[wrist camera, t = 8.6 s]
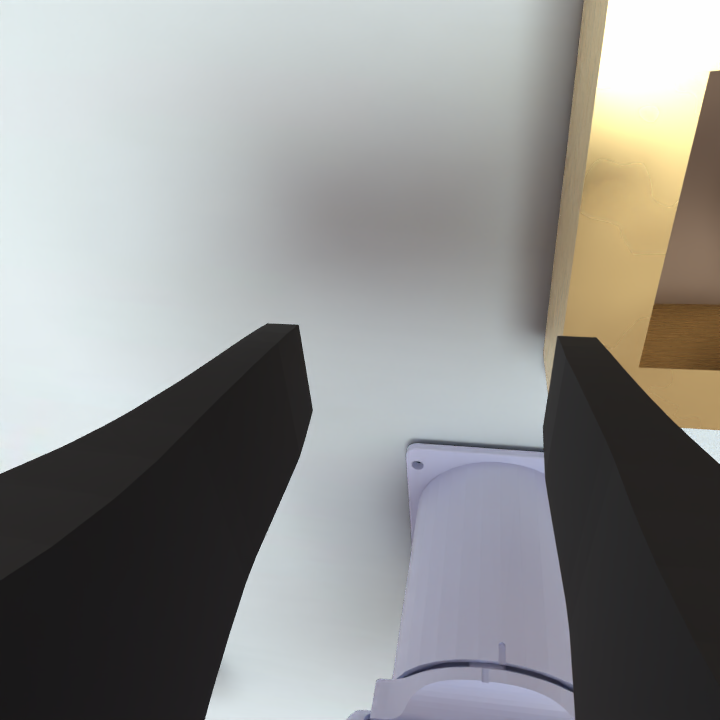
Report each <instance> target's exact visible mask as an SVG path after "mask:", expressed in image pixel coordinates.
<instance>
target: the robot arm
mask: <svg viewBox="0 0 720 720" xmlns="http://www.w3.org/2000/svg"><path fill="white" fill-rule="evenodd" d="M312 411H313V409H312V403H311V397H310V391H309V385H308V379H307V373H306V367H305V361H304V355H303V349H302V343H301V337H300V331H299V325H291V324H266V325H264V326H262V327H260V328H259V329H257V330H255V331H254V332H252V333H251V334H249V335H248V336H246V337H245V338H243V339H242V340H240V341H239V342H237V343H236V344H234V345H233V346H231V347H230V348H228V349H227V350H225V351H224V352H222V353H221V354H220V355H218V356H217V357H215V358H214V359H212V360H211V361H209V362H208V363H206V364H205V365H203V366H202V367H200V368H199V369H197V370H196V371H194V372H193V373H191V374H190V375H188V376H187V377H185V378H184V379H182V380H181V381H179V382H177V383H176V384H174V385H172V386H171V387H169V388H168V389H166V390H164V391H163V392H161V393H160V394H158V395H156V396H155V397H153V398H151V399H150V400H148V401H147V402H145V403H143V404H142V405H140V406H138V407H137V408H135V409H133V410H132V411H130V412H128V413H126V414H125V415H123V416H121V417H119V418H118V419H116V420H114V421H112V422H110V423H108V424H107V425H105V426H103V427H101V428H99V429H97V430H95V431H93V432H91V433H89V434H87V435H85V436H83V437H81V438H79V439H77V440H75V441H73V442H71V443H69V444H67V445H65V446H63V447H61V448H59V449H56V450H54V451H52V452H50V453H47V454H45V455H43V456H40V457H38V458H36V459H33V460H31V461H29V462H27V463H24V464H22V465H20V466H17V467H15V468H13V469H11V470H8V471H6V472H4V473H1V474H0V720H205V716H206V713H207V709H208V705H209V702H210V698H211V694H212V691H213V688H214V684H215V681H216V677H217V674H218V671H219V667H220V664H221V661H222V657H223V654H224V651H225V647H226V644H227V641H228V637H229V634H230V631H231V628H232V625H233V621H234V618H235V615H236V612H237V609H238V606H239V603H240V600H241V597H242V593H243V590H244V587H245V584H246V581H247V579H248V576H249V573H250V571H251V568H252V566H253V563H254V561H255V558H256V556H257V553H258V551H259V549H260V547H261V544H262V542H263V540H264V538H265V535H266V533H267V531H268V528H269V526H270V524H271V522H272V519H273V517H274V515H275V513H276V510H277V508H278V506H279V504H280V501H281V499H282V497H283V494H284V492H285V490H286V488H287V485H288V483H289V481H290V478H291V476H292V474H293V471H294V469H295V467H296V464H297V462H298V459H299V457H300V454H301V451H302V447H303V444H304V441H305V437H306V434H307V430H308V426H309V423H310V419H311V415H312ZM543 443H544V452H532V451H518V450H504V449H491V448H477V447H463V446H449V445H435V444H422V443H414V444H411V445H409V447H408V448H407V453H406V464H407V479H408V494H409V509H410V524H411V539H412V550H411V557H410V564H409V570H408V577H407V584H406V591H405V597H404V604H403V611H402V617H401V624H400V631H399V637H398V644H397V651H396V658H395V664H394V671H393V678H392V679H378V680H376V686H375V691H374V697H373V703H372V708H371V711H368V710H358V711H355V712H354V713H352V714H351V715H350V716H349V717H348V718H347V720H720V464H719V463H718V462H717V461H715V460H714V459H713V458H712V457H711V456H710V455H709V454H708V453H707V452H706V451H705V450H703V449H702V448H701V447H700V446H699V445H698V444H697V443H696V442H695V441H694V440H692V439H691V438H690V437H689V436H688V435H687V434H686V433H685V432H684V431H683V430H682V429H681V428H680V427H679V426H678V425H677V424H676V423H675V422H674V421H673V420H672V419H671V418H670V417H669V416H668V415H667V414H666V413H665V412H664V411H663V410H662V409H661V408H660V407H659V406H658V405H657V404H656V403H655V402H654V401H653V400H652V399H651V398H650V397H649V396H648V395H647V393H646V392H645V391H644V390H643V389H642V388H641V387H640V386H639V385H638V384H637V382H636V381H635V380H634V379H633V378H632V377H631V376H630V375H629V374H628V372H627V371H626V370H625V369H624V368H623V367H622V366H621V364H620V363H619V362H618V361H617V360H616V359H615V358H614V356H613V355H612V354H611V353H610V352H609V351H608V350H607V349H606V347H605V346H604V345H603V344H602V343H601V342H600V341H599V340H598V339H597V337H575V336H557V341H556V347H555V354H554V360H553V367H552V373H551V379H550V386H549V392H548V399H547V405H546V412H545V418H544V425H543ZM415 461H419V462H421V463H416V462H415Z"/></svg>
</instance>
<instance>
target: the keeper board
mask: <svg viewBox="0 0 720 720" xmlns="http://www.w3.org/2000/svg"><path fill="white" fill-rule="evenodd" d="M654 304H714V305H720V70H716V71H710V73H709V77H708V81H707V85H706V90H705V94H704V98H703V102H702V106H701V110H700V115H699V119H698V123H697V127H696V131H695V135H694V139H693V144H692V148H691V152H690V156H689V160H688V164H687V168H686V173H685V177H684V181H683V185H682V189H681V193H680V197H679V202H678V206H677V210H676V214H675V218H674V222H673V227H672V231H671V235H670V239H669V243H668V247H667V251H666V256H665V260H664V264H663V268H662V272H661V276H660V280H659V285H658V289H657V293H656V297H655V301H654Z"/></svg>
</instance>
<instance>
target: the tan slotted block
mask: <svg viewBox="0 0 720 720" xmlns="http://www.w3.org/2000/svg"><path fill="white" fill-rule="evenodd" d="M716 70H720V0H584V5H583V13H582V22H581V30H580V39H579V48H578V56H577V65H576V74H575V82H574V91H573V100H572V108H571V117H570V126H569V134H568V143H567V151H566V160H565V169H564V177H563V186H562V195H561V203H560V212H559V221H558V229H557V238H556V247H555V255H554V264H553V272H552V281H551V290H550V298H549V307H548V316H547V324H546V333H545V342H544V350H543V356H544V364H545V373H546V381H547V389H548V392H549V386H550V379H551V373H552V367H553V360H554V354H555V347H556V341H557V336H575V337H597V339H598V340H599V341H600V342H601V343H602V344H603V345H604V346H605V347H606V349H607V350H608V351H609V352H610V353H611V354H612V355H613V356H614V358H615V359H616V360H617V361H618V362H619V363H620V364H621V366H622V367H623V368H624V369H625V370H626V371H627V372H628V374H629V375H630V376H631V377H632V378H633V379H634V380H635V381H636V382H637V384H638V385H639V386H640V387H641V388H642V389H643V390H644V391H645V392H646V393H647V395H648V396H649V397H650V398H651V399H652V400H653V401H654V402H655V403H656V404H657V405H658V406H659V407H660V408H661V409H662V410H663V411H664V412H665V413H666V414H667V415H668V416H669V417H670V418H671V419H672V420H673V421H674V422H675V423H676V424H677V425H678V426H679V427H680V428H694V429H710V430H720V305H714V304H654V301H655V297H656V293H657V289H658V285H659V280H660V276H661V272H662V268H663V264H664V260H665V256H666V251H667V247H668V243H669V239H670V235H671V231H672V227H673V222H674V218H675V214H676V210H677V206H678V202H679V197H680V193H681V189H682V185H683V181H684V177H685V173H686V168H687V164H688V160H689V156H690V152H691V148H692V144H693V139H694V135H695V131H696V127H697V123H698V119H699V115H700V110H701V106H702V102H703V98H704V94H705V90H706V85H707V81H708V77H709V73H710V71H716Z"/></svg>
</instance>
